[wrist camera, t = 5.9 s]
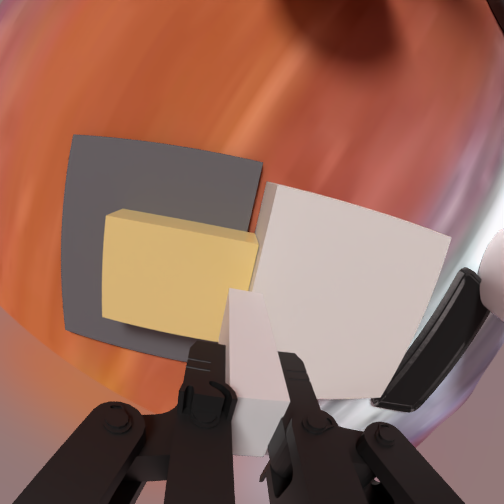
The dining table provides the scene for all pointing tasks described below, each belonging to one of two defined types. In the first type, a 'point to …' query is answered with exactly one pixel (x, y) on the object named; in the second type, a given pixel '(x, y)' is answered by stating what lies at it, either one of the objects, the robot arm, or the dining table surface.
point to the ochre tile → (172, 272)
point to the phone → (437, 345)
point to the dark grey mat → (143, 200)
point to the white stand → (343, 287)
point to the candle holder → (493, 276)
